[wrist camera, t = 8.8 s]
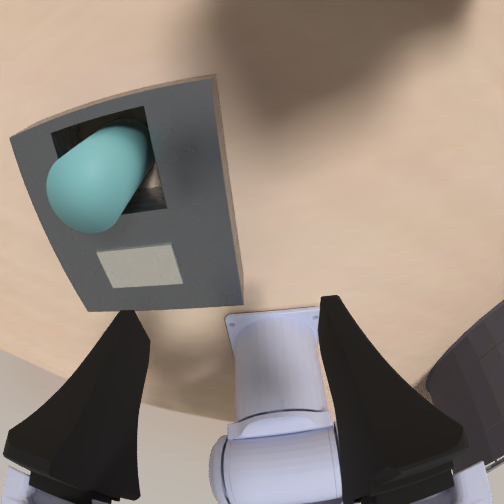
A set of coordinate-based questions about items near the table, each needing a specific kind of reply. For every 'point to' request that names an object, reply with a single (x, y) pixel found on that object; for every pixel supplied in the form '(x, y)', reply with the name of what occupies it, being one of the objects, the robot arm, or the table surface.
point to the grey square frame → (149, 206)
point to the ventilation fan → (474, 389)
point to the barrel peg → (100, 175)
